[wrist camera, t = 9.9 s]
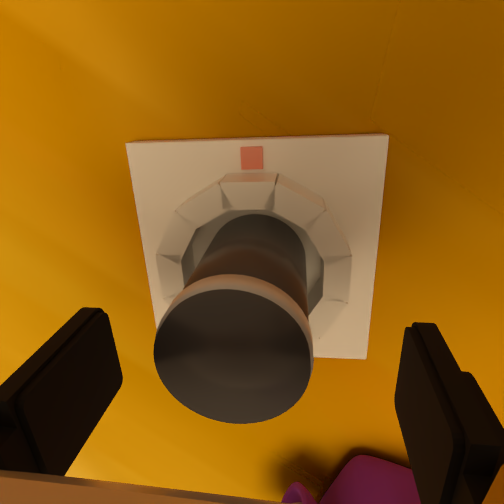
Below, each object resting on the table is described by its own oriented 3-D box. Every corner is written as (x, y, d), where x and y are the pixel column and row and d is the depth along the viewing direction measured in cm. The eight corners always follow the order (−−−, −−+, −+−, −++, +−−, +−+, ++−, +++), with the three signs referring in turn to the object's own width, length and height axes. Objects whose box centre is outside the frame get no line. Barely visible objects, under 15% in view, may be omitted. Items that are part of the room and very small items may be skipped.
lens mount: (383, 133, 17) (401, 140, 14) (363, 347, 21) (373, 385, 19) (134, 140, 18) (104, 149, 15) (165, 340, 23) (147, 373, 20)
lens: (308, 211, 17) (317, 295, 10) (306, 305, 19) (312, 430, 12) (203, 212, 18) (138, 290, 11) (211, 302, 20) (162, 420, 13)
